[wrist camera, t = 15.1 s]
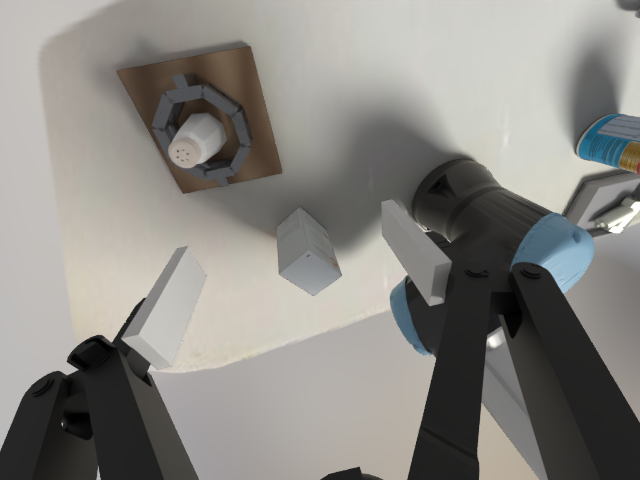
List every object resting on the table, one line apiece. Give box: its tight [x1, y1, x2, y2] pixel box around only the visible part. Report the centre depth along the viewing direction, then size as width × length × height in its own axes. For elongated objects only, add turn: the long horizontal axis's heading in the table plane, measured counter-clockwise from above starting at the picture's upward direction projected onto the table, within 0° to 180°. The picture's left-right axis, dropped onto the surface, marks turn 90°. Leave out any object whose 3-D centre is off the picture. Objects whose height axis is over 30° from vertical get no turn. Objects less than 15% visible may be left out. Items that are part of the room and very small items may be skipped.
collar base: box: [116, 46, 282, 194], centre depth 33 cm, size 16×16×1 cm
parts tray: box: [565, 172, 640, 240], centre depth 55 cm, size 16×16×3 cm
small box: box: [277, 207, 342, 296], centre depth 41 cm, size 8×6×13 cm
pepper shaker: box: [168, 113, 227, 168], centre depth 29 cm, size 5×5×11 cm
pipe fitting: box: [594, 196, 640, 233], centre depth 55 cm, size 8×4×7 cm
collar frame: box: [152, 74, 253, 187], centre depth 31 cm, size 10×13×5 cm
